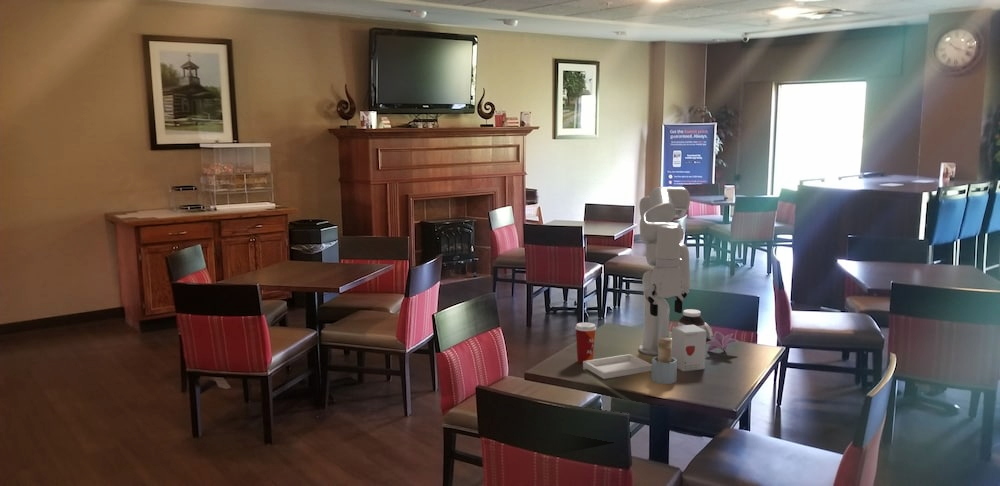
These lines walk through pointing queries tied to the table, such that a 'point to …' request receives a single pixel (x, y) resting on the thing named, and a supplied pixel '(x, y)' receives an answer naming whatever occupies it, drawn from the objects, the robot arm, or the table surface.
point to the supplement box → (689, 347)
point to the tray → (617, 366)
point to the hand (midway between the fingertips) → (666, 314)
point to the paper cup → (585, 341)
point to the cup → (664, 371)
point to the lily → (720, 341)
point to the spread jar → (695, 321)
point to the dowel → (664, 350)
